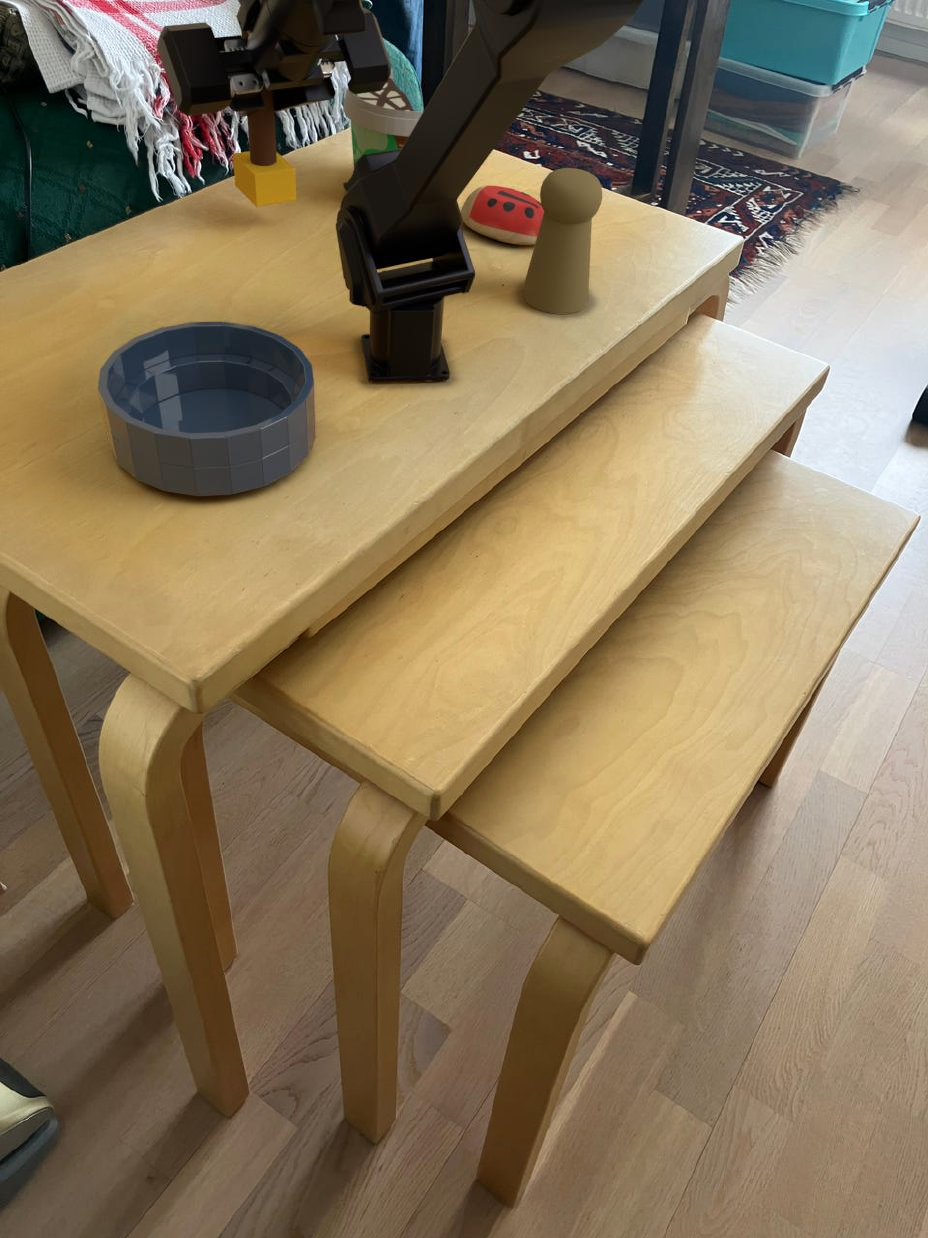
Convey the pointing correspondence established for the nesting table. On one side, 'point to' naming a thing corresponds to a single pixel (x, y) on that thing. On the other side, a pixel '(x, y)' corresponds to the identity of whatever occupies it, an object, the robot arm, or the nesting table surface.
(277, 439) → the bowl
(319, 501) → the nesting table surface
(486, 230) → the ladybug figurine
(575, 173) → the olive brown pawn
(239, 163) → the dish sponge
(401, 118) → the food container
